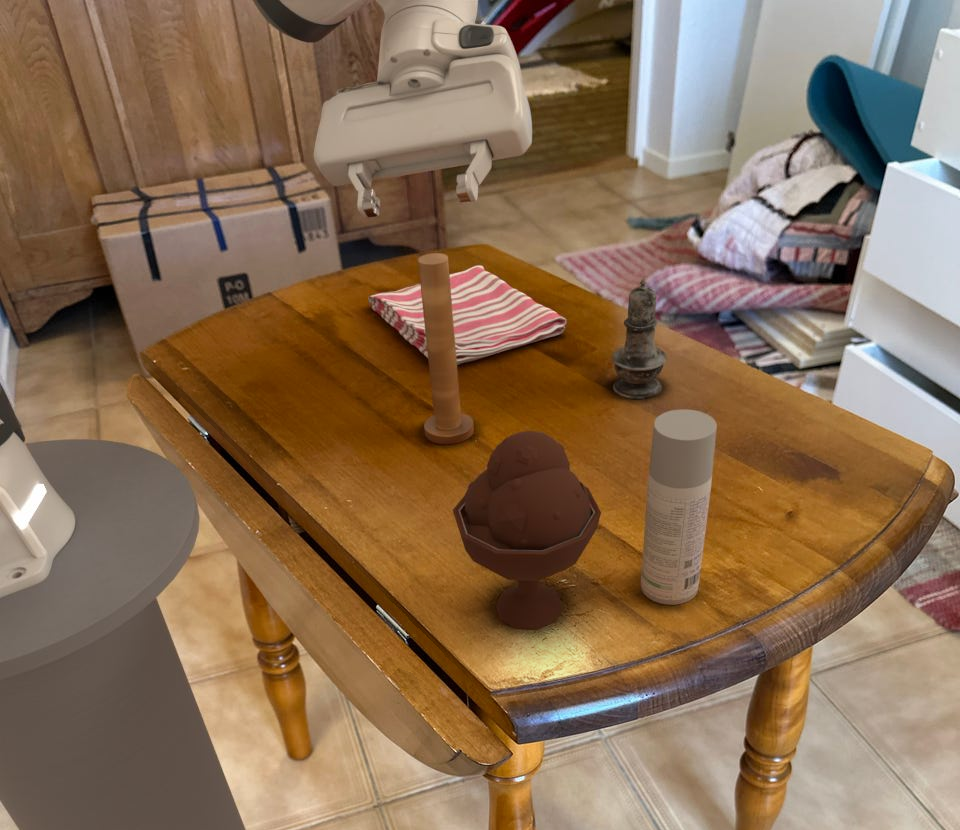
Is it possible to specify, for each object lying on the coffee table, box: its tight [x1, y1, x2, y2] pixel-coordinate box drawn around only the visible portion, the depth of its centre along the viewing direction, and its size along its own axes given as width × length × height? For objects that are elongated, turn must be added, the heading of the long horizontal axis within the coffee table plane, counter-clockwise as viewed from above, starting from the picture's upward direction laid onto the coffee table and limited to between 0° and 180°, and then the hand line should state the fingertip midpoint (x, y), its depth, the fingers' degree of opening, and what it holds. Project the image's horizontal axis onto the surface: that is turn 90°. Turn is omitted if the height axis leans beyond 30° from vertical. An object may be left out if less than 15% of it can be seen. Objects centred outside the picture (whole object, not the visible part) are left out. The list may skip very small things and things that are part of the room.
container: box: [640, 408, 718, 606], centre depth 71 cm, size 5×5×15 cm
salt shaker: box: [611, 278, 668, 400], centre depth 98 cm, size 6×6×12 cm
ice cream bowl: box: [452, 430, 602, 630], centre depth 71 cm, size 11×11×15 cm
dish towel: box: [368, 264, 567, 366], centre depth 117 cm, size 17×23×4 cm
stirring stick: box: [417, 252, 475, 445], centre depth 91 cm, size 5×5×18 cm
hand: (416, 206), depth 83 cm, fingers open, 8 cm apart
